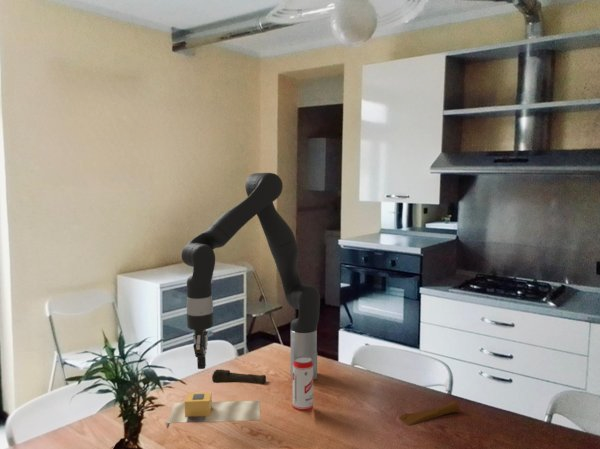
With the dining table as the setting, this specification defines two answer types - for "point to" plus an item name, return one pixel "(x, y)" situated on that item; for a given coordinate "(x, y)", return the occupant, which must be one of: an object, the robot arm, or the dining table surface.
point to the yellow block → (198, 404)
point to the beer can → (303, 383)
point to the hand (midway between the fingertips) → (201, 367)
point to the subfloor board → (219, 412)
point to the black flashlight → (236, 377)
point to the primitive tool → (429, 413)
